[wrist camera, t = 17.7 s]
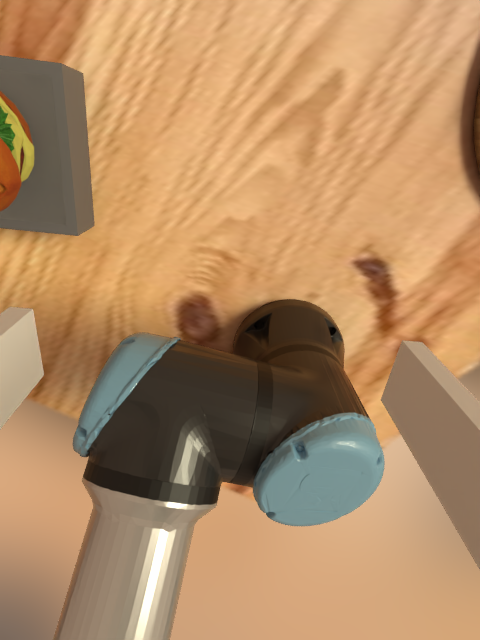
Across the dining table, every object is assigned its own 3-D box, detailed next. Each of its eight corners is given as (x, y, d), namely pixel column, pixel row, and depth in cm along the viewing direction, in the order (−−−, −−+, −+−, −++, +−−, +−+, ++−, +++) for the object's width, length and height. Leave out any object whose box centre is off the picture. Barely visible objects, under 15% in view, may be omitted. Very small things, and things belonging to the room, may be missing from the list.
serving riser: (94, 225, 42) (77, 235, 37) (-39, 212, 41) (-72, 220, 36) (83, 73, 35) (61, 63, 31) (-77, 52, 34) (-124, 38, 30)
